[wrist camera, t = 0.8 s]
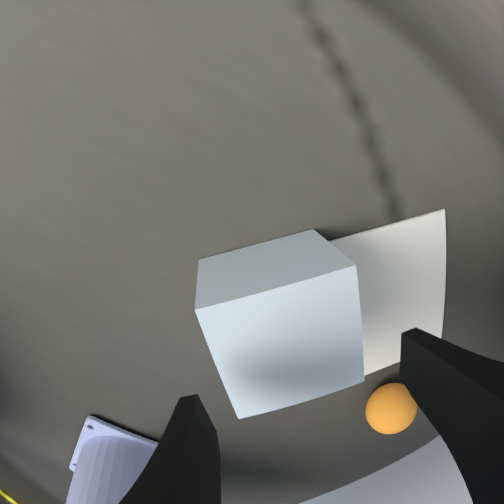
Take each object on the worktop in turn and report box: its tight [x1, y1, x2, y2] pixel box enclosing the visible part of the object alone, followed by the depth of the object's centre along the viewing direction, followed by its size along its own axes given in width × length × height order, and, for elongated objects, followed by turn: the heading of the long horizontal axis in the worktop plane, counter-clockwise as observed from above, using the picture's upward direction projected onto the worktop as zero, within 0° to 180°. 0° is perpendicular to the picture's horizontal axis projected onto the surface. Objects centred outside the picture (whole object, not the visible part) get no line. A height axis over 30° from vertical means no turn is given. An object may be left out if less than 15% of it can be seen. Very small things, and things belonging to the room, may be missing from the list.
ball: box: [366, 383, 417, 434], centre depth 19 cm, size 4×4×4 cm
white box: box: [195, 229, 364, 419], centre depth 14 cm, size 6×6×5 cm
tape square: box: [328, 209, 446, 376], centre depth 18 cm, size 10×10×1 cm
